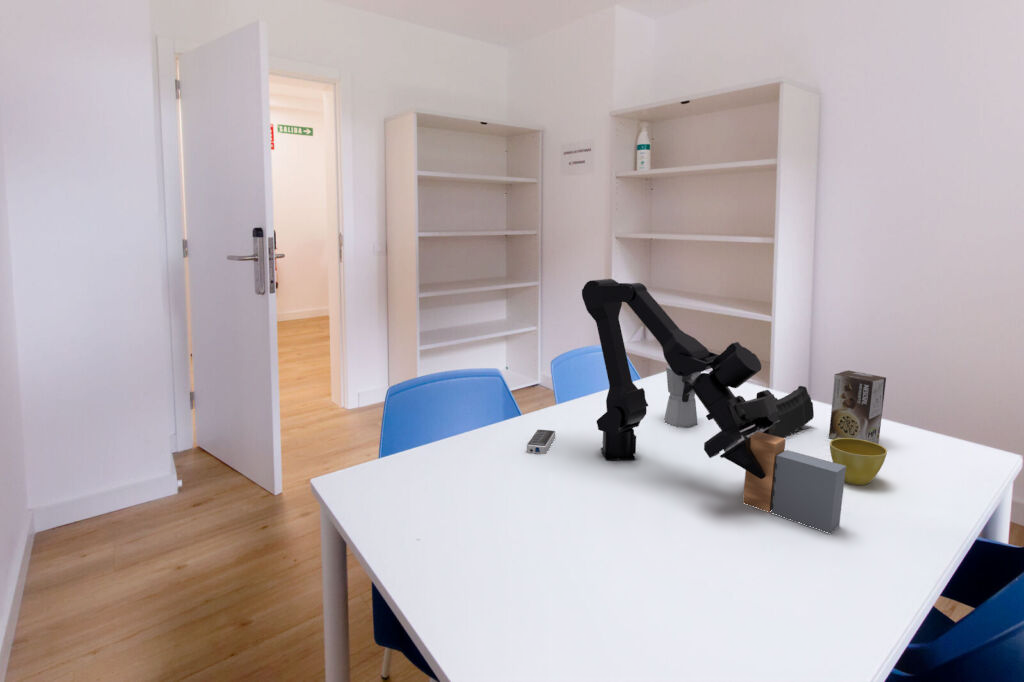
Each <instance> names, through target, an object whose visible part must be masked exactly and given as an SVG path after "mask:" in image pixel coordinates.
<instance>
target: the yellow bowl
mask: <svg viewBox="0 0 1024 682" xmlns="http://www.w3.org/2000/svg"><path fill="white" fill-rule="evenodd" d="M829 450H830V451H829V452H830V457H831V462H833V463H837V464H841V465H844V466H846V471H845V480H844V483H847V484H851V485H856V486H857V485H858V486H864V485H868V484H870V482H871V481H873V480H874V479H875V477H877V475H878V473H879V472H880V470H881V469H882V467H883V465H884V464H885V463H884V462H885V460H886V457H887V454H888V450H887V448H886V447H884V446H882V445H881V444H876V443H873V442H870V441H866V440H860V439H853V438H838V439H830V442H829Z"/></svg>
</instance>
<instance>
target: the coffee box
mask: <svg viewBox="0 0 1024 682" xmlns="http://www.w3.org/2000/svg"><path fill="white" fill-rule="evenodd" d="M833 377H834V379H833V391H832V402H831V414H830V423H829V430H828V431H829V432H828V439H829V440H834V439H838V438H853V439H860V440H866V441H870V442H873V443H876V444H879V443H880V435H881V434H880V433H881V426H882V418H883V408H884V399H885V393H886V392H885V391H886V384H887V377H885V376H880V375H874V374H869V373H865V372H859V371H854V370H843V371H842V372H841V371H840V372H838V373H835V374H834V376H833ZM879 445H880V444H879Z"/></svg>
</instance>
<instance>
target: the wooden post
mask: <svg viewBox="0 0 1024 682" xmlns="http://www.w3.org/2000/svg"><path fill="white" fill-rule="evenodd" d="M749 437H751V444H750V448H751V450H752V452H753V454H754V455H755V457H756V459H757V460H758V462H759V464H760V465H761V467H762V469H763V471H764V473H765V475H766V477H764V478H763V479H760V478H758V477H756V476H755V475H753V474H752V473H750V472H748V471H747V470H745V473H744V483H743V484H744V485H743V486H744V487H743V495H742V496H743V497H742V504H743V503H745V504H748V505H751V506H754V507H757V508H759V509H762V510H765V511H768V512H770V511H771V510H772V509H771V503H772V502H773V496H772V490H774V482H773V479H774V476H775V463H776V458H777V455H778V454H780V453H782V452H784V451H786V450H785V449H786V448H785V447H786V438H785V437H784V438H781V437H777V436H773V435H769V434H765V433H761V432H757V433H755V434H753V435H751V436H749ZM749 437H748V438H749ZM745 504H744V505H745ZM748 505H747V506H748ZM751 506H750V507H751ZM754 507H753V508H754ZM759 509H758V510H759ZM762 510H761V511H762ZM765 511H764V512H765ZM768 512H767V513H768ZM771 512H772V511H771ZM771 512H770V513H771Z"/></svg>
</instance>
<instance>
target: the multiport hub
mask: <svg viewBox="0 0 1024 682" xmlns="http://www.w3.org/2000/svg"><path fill="white" fill-rule="evenodd" d="M554 439H555V440H556V431H555V430H552V429H551V430H549V429H537V430H536V431H535V433H534V434H533V435H532V436H531V438H530V439H529V441H528V442H527V443H526V453H527V454H532V453H536V454H535V455H541V454H546V455H547V454H548V452H549V450H550V449H549V448H551V447H552V445H553V444H552V443H554V442H555V440H554ZM553 441H554V442H553ZM551 444H552V445H551ZM550 446H551V447H550ZM547 451H548V452H547Z"/></svg>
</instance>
